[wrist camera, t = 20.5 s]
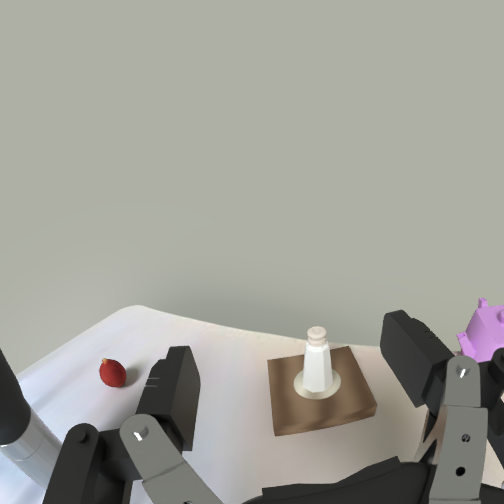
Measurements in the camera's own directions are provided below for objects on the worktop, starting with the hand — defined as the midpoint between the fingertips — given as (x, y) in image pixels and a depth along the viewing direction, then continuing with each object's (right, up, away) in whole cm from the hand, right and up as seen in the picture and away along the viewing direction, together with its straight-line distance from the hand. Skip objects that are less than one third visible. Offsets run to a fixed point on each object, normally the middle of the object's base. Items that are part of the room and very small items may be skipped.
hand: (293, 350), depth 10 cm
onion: (-30, -25, +38) cm, 54 cm away
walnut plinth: (+10, -21, +32) cm, 39 cm away
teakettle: (+44, -18, +24) cm, 54 cm away
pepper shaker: (+9, -18, +31) cm, 37 cm away
